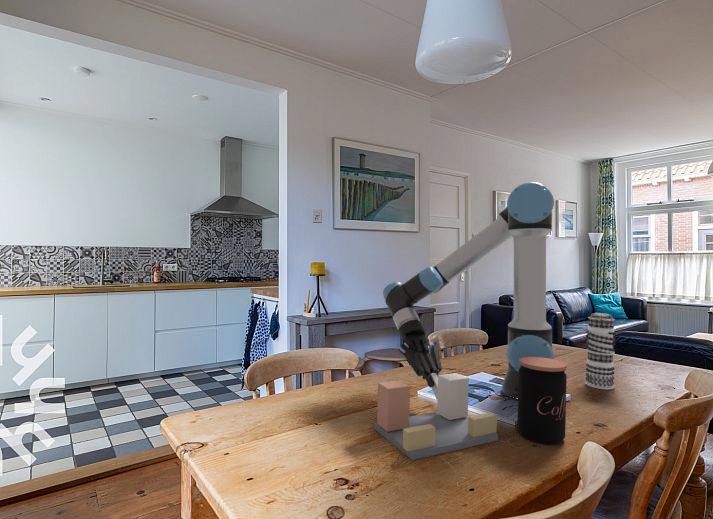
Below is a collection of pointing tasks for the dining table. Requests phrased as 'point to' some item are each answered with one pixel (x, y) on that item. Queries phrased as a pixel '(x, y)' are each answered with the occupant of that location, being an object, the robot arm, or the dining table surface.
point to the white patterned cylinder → (600, 351)
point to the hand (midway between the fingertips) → (441, 396)
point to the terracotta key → (393, 405)
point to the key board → (441, 434)
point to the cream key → (452, 396)
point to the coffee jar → (542, 399)
